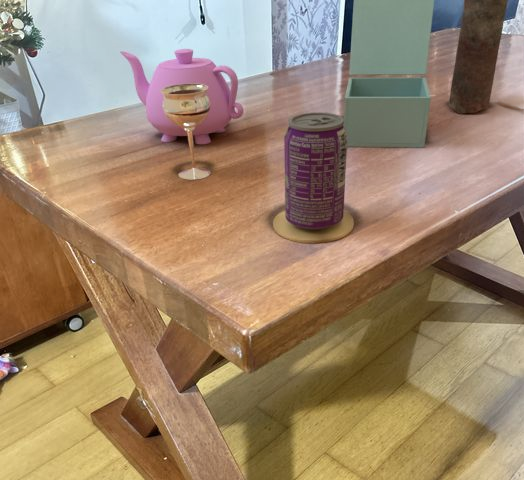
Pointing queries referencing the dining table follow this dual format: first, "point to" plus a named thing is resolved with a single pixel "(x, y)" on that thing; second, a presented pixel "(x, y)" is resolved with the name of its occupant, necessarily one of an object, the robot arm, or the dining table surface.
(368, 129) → the chest
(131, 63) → the teapot
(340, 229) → the coaster
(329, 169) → the beverage can
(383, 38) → the chest lid
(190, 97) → the wineglass
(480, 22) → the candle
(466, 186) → the dining table surface
